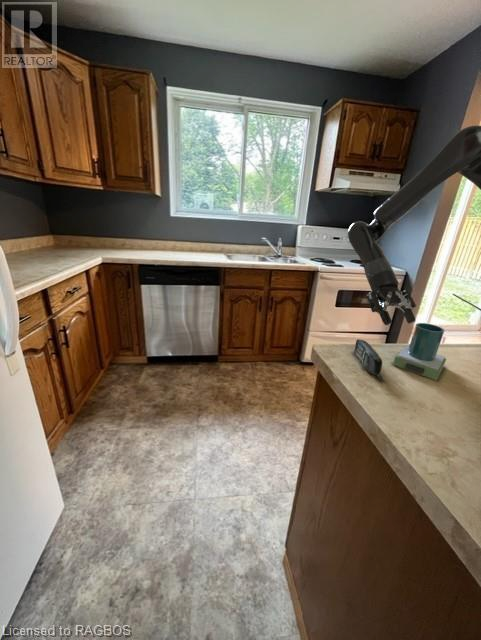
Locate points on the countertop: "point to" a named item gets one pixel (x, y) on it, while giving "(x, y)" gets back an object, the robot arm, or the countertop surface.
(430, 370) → the kitchen scale
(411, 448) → the countertop surface
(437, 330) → the teal cup
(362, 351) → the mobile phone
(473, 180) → the robot arm
